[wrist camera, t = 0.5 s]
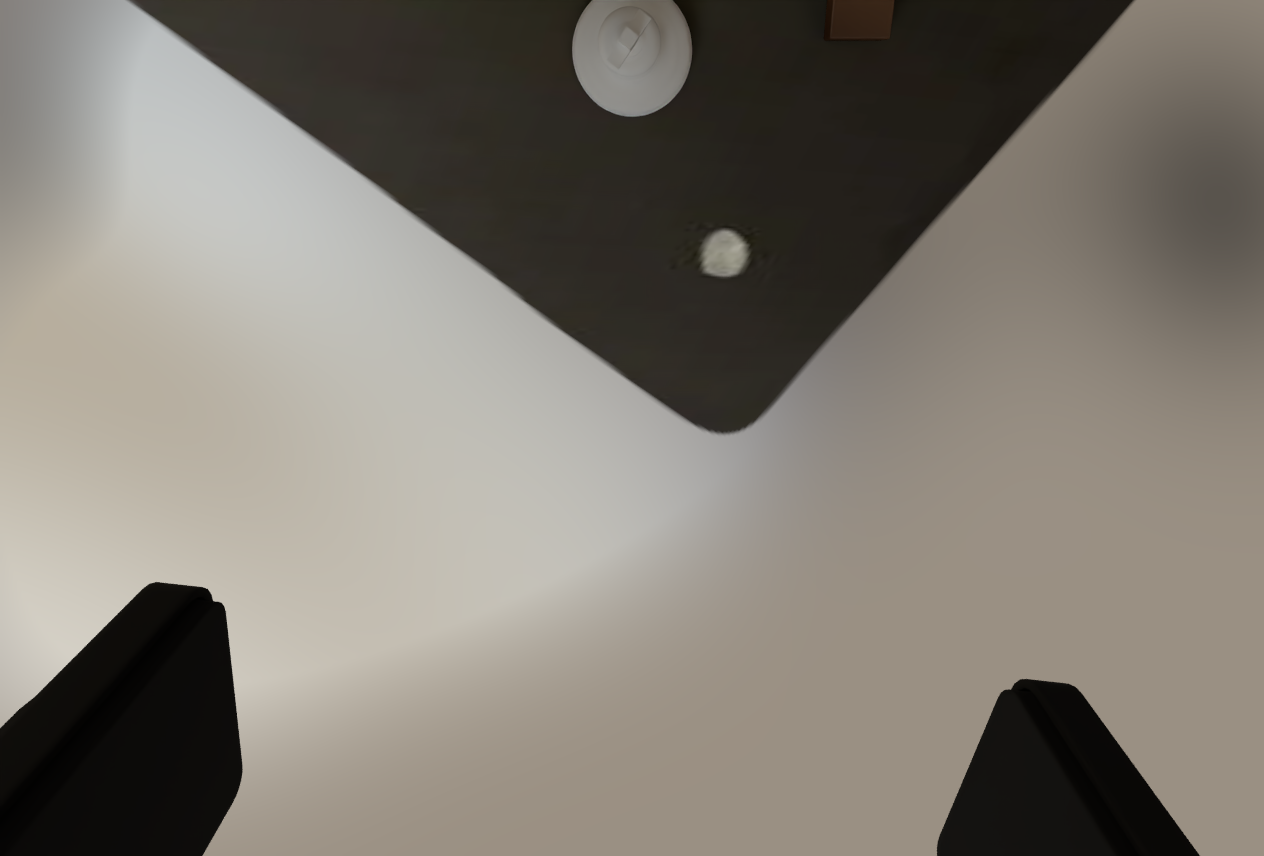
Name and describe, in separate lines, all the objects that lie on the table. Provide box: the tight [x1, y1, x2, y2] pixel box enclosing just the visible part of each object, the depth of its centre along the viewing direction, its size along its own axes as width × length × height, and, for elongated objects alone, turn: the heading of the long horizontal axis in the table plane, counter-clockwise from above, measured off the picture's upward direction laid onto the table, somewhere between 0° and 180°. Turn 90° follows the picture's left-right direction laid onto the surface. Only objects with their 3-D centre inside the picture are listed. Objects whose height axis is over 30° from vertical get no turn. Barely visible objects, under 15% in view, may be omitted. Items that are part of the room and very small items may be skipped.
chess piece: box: [572, 0, 692, 117], centre depth 27 cm, size 5×5×10 cm
